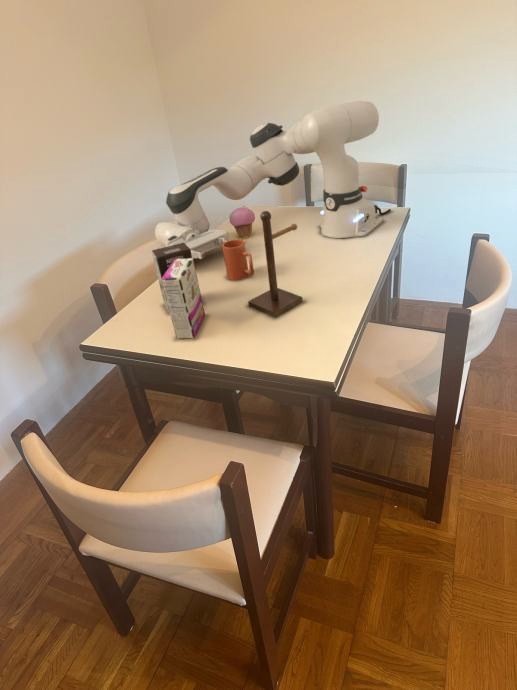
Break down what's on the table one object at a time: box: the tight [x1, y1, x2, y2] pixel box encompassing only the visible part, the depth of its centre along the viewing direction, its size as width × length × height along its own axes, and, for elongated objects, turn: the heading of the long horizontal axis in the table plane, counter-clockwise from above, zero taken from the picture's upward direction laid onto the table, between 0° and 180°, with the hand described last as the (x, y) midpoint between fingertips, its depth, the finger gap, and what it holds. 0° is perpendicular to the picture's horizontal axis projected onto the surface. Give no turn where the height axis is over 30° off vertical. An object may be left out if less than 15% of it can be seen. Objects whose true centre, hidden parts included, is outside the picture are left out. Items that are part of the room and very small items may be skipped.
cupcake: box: [228, 206, 256, 238], centre depth 168 cm, size 9×9×10 cm
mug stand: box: [247, 210, 303, 318], centre depth 121 cm, size 15×10×25 cm
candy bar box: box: [161, 258, 207, 340], centre depth 117 cm, size 11×5×16 cm, turn 171°
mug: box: [221, 239, 255, 281], centre depth 140 cm, size 10×6×10 cm, turn 43°
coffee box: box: [151, 243, 192, 314], centre depth 128 cm, size 9×6×16 cm
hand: (215, 250), depth 147 cm, fingers open, 8 cm apart
